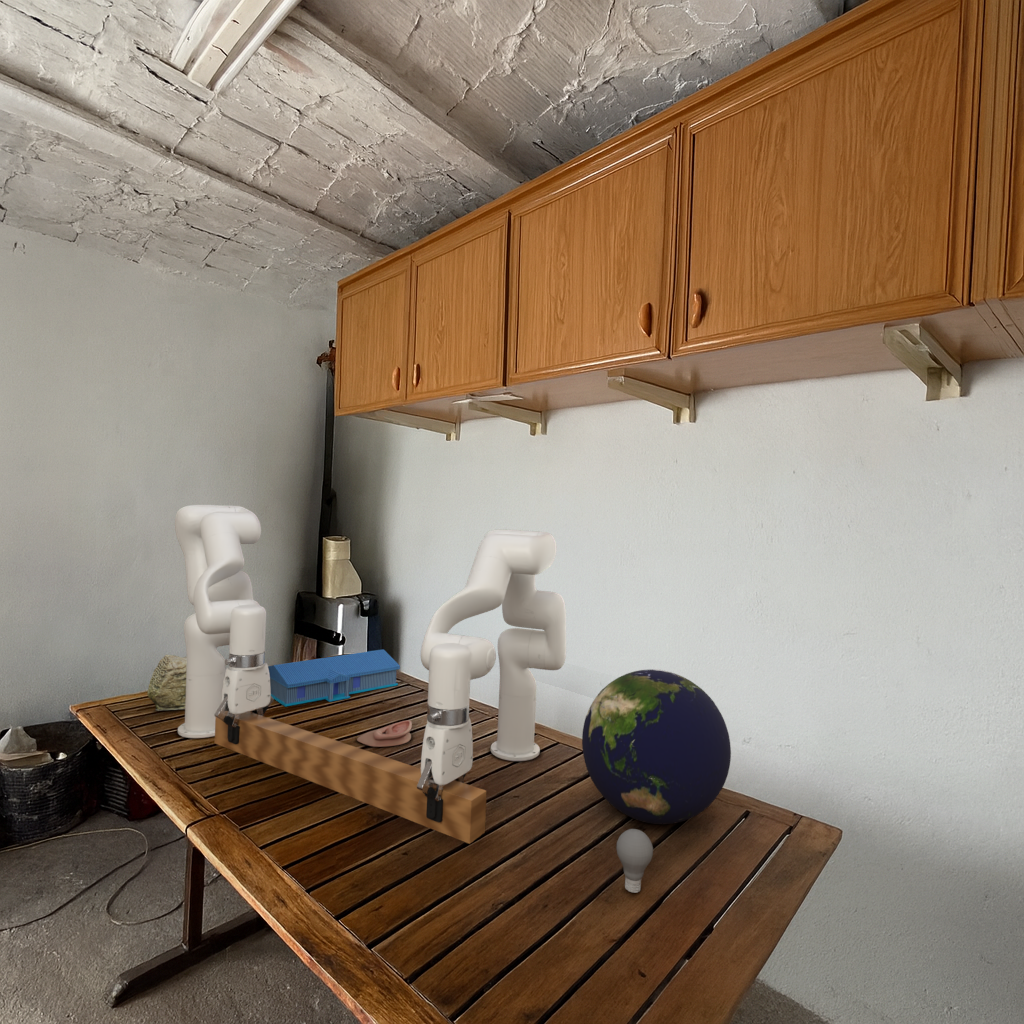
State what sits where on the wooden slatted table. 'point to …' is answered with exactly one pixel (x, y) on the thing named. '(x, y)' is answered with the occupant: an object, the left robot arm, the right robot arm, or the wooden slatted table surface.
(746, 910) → the wooden slatted table surface
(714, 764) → the globe
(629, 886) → the light bulb
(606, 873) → the wooden slatted table surface
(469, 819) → the bar
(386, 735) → the anatomical model
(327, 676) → the model building
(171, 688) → the fossil
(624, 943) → the wooden slatted table surface
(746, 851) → the wooden slatted table surface
